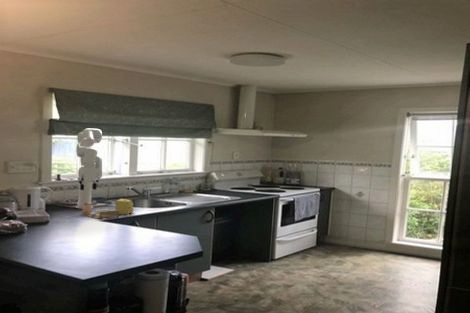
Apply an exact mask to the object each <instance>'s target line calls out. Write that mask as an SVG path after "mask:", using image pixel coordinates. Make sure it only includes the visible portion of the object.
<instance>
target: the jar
mask: <svg viewBox="0 0 470 313" xmlns="http://www.w3.org/2000/svg"><path fill="white" fill-rule="evenodd" d="M92 206H93V204H92V202H91V203H84V204H83V209H82V216H86V215H87V212H91V213H93V210H92V209H93V208H92Z"/></svg>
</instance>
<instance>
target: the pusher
mask: <svg viewBox="0 0 470 313" xmlns="http://www.w3.org/2000/svg"><path fill="white" fill-rule="evenodd" d="M103 211H111V209H110V208H105V209H95V214H98V215H100V212H103Z"/></svg>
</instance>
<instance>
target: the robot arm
mask: <svg viewBox="0 0 470 313" xmlns="http://www.w3.org/2000/svg"><path fill="white" fill-rule="evenodd" d="M102 139H103V132H102V130H101V129H99V128H85V129H82V131H80V132H78V134H77V139H76V140H77V144H76V148H75V149H76V156H77V157H78V158H80V165H81V167H78V168H79V169H78V172H77V174H78V177H77V183H78V196H77V197H78V200H77V201H76V204H77V205H75V208H76V209H80V210H81V209H82V210H83V204H84V203H91V204H92V197H93V196H92V192H93V191H92V190H94V191H95V190H97V184H99V180H100V179H102V177H103V158H102V156H101V155H100V154H98V152H99V151H98V150H97V148H96V147H93V146H94V145H95V144H99V143H101V141H102ZM92 209H94V206H93V205H92Z"/></svg>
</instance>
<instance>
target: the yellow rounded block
mask: <svg viewBox="0 0 470 313" xmlns="http://www.w3.org/2000/svg"><path fill="white" fill-rule="evenodd" d="M115 210H119V215H123V214H129V213H131V214H133V213H134V203H133V201H132V200H131V199H126V198H119V199H118V200H116V201H115ZM132 212H133V213H132ZM129 215H130V214H129Z"/></svg>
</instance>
